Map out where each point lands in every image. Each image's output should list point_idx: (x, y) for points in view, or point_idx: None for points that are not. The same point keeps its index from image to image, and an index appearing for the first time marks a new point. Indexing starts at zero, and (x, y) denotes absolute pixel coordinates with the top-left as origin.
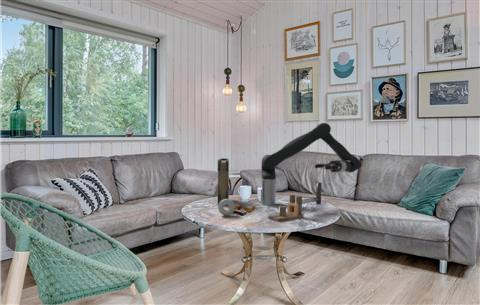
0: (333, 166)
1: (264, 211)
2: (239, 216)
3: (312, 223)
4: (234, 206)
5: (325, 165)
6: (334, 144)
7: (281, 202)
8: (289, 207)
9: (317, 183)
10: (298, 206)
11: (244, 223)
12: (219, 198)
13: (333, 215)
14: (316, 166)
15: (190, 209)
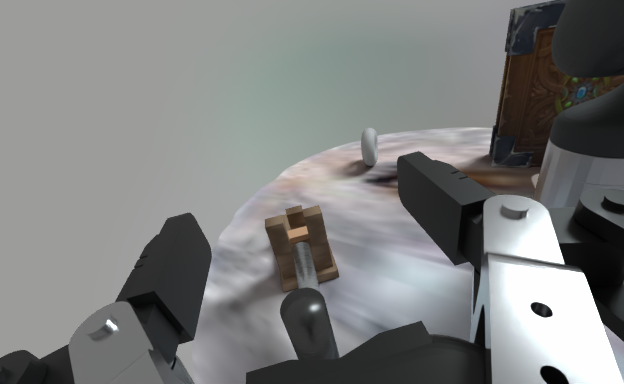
0: (38, 359)
1: (401, 219)
2: (358, 177)
3: (210, 284)
4: (363, 152)
5: (419, 338)
6: None
7: None
8: None
9: (298, 291)
10: None
11: (301, 179)
12: (492, 137)
13: None
14: (404, 187)
15: (440, 131)
